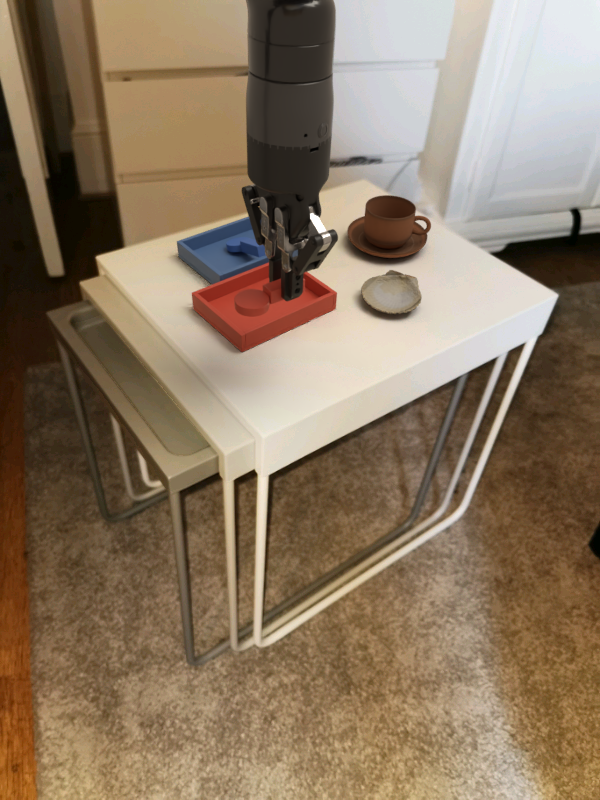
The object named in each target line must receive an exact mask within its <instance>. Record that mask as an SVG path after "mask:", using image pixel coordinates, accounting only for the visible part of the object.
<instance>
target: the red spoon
mask: <svg viewBox="0 0 600 800" xmlns="http://www.w3.org/2000/svg"><path fill="white" fill-rule="evenodd" d="M303 292H305V279H304V278H303ZM303 292H302V293H303ZM282 300H284V299H283V298H282V297H281V279H278V280H276V281H273V282H270V283H267V284H264V285H263V291H261V290H257V289H247V290H243V291H241V292H239V293H237V294H236V296H235V298H234V305H235V310H236V311H237V312H238V313H239V314H241V315H243V316H248V317H256V316H260V315H263V314H265V313H266V312H267V311H268V310H269V303H270V304H274V303H277V302H279V301H282Z"/></svg>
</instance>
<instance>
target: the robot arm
mask: <svg viewBox="0 0 600 800" xmlns="http://www.w3.org/2000/svg"><path fill="white" fill-rule="evenodd" d="M245 3H246V9H247V29H246V31H247V34H246V35H247V38H246V39H247V83H246V92H245V118H246V120H245V122H246V123H245V125H246V128H245V129H246V131H245V132H246V163H247V164H246V168H247V169H246V170H247V172H246V173H247V176H248V179H249V181H250V182H251V183H252V184H249V185H245V186H242V187H241V195H242V199H243V202H244V205H245V208H246V212H247V217H248V216H249V219H250V223H251V226H252V229H253V233H254V236H255V240H256V242H257V244H258V245H259V246H260V245H264V247H265V254H266V256H267V258H268V259H269V283H270V282H273V281H276V280H278V279H281V297H282V298H283V299H284V300H285V301H290V300H293V299H295V298H298V297H299V296H300V295H302V292H303V277H304V273H305V272H308V273H309V272H310V271H313V270H316V269H317V270H318V269H319V268H320V266H321V265H322V264H323V262H324V260H325V259H326V258H327V257H328V255H329V254H330V252H331V251H332V249H333V248H334V246H335V245H336V243H337V242H338V241H339V235H338V232H337V230H336V229H334V228H332V229H328V230H327V228H326V226H325V225H324V223H323V221H322V220H321V216H322V206H321V201H320V192H321V190H322V189H323V187H324V185H325V184H326V183H327V182H328V180H329V178H330V167H331V154H332V153H331V152H332V151H331V150H332V139H333V123H334V109H335V95H334V61H335V46H336V32H337V8H336V4H335V0H245ZM260 220H261V223H260ZM296 250H298V256H295V257H293V252H294V251H296Z"/></svg>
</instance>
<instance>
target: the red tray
mask: <svg viewBox="0 0 600 800" xmlns="http://www.w3.org/2000/svg"><path fill="white" fill-rule="evenodd" d="M303 278H304V279H305V292H303V293H302V295H300V296H299V297H298V298H295V299H293V300H290V301H285V300H282V301H279V302H277V303H274V304H270V303H269V310H268V311H267V312H266V313H265V314H263V315H260V316H256V317H248V316H243V315H241V314H239V313H238V312H237V311H236V310H235V305H234V298H235V296H236V294H237V293H239V292H241V291H243V290H247V289H257V290H261V291H263V285H264V284H267V283H269V262H268V263H266V264H263V265H261V266H258V267H256V268H253V269H251V270H248V271H246V272H243V273H240V274H238V275H235V276H233V277H230V278H228V279H225V280H223V281H220V282H218V283H215V284H210V285H207V286H204V287H202V288H200V289H198V290H195V291H193V292H191V301H192V309H193V311H195V312H196V313H197V314H198V315H199V316H200V317H202V318H203V319H204V320H205V321H206V322H207V323H208V324H209V325H211V326H212V327H213V328H214V329H215V330H216V331H217V332H218V333H219V334H221V335H222V336H223V337H224V338H225V339H226V340H227V341H228V342H230V343H231V344H232V345H233V346H234V347H235V348H237V349H238V351H240V352H241V353H243V352H246V351H248V350H250V349H253V348H254V347H257V346H258V345H261V344H263V343H265V342H267V341H269V340H272V339H274V338H276V337H279V336H280V335H283V334H285V333H287V332H289V331H291V330H294V329H295V328H298V327H299V326H302V325H303V324H304V325H305V324H306V323H309V322H310V321H313V320H315V319H317V318H320V317H321V316H323V315H325V314H328V313H330V312H332V311H335V310H337V300H338V292H337V291H335V290H334V289H332V288H331V287H330V286H328V284H326V283H324V282H323V281H321V280H320V279H318V278H317V277H316V276H314V275H313V274H311V273H310V272H309V271H308V272H305V273H304V277H303Z"/></svg>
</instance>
